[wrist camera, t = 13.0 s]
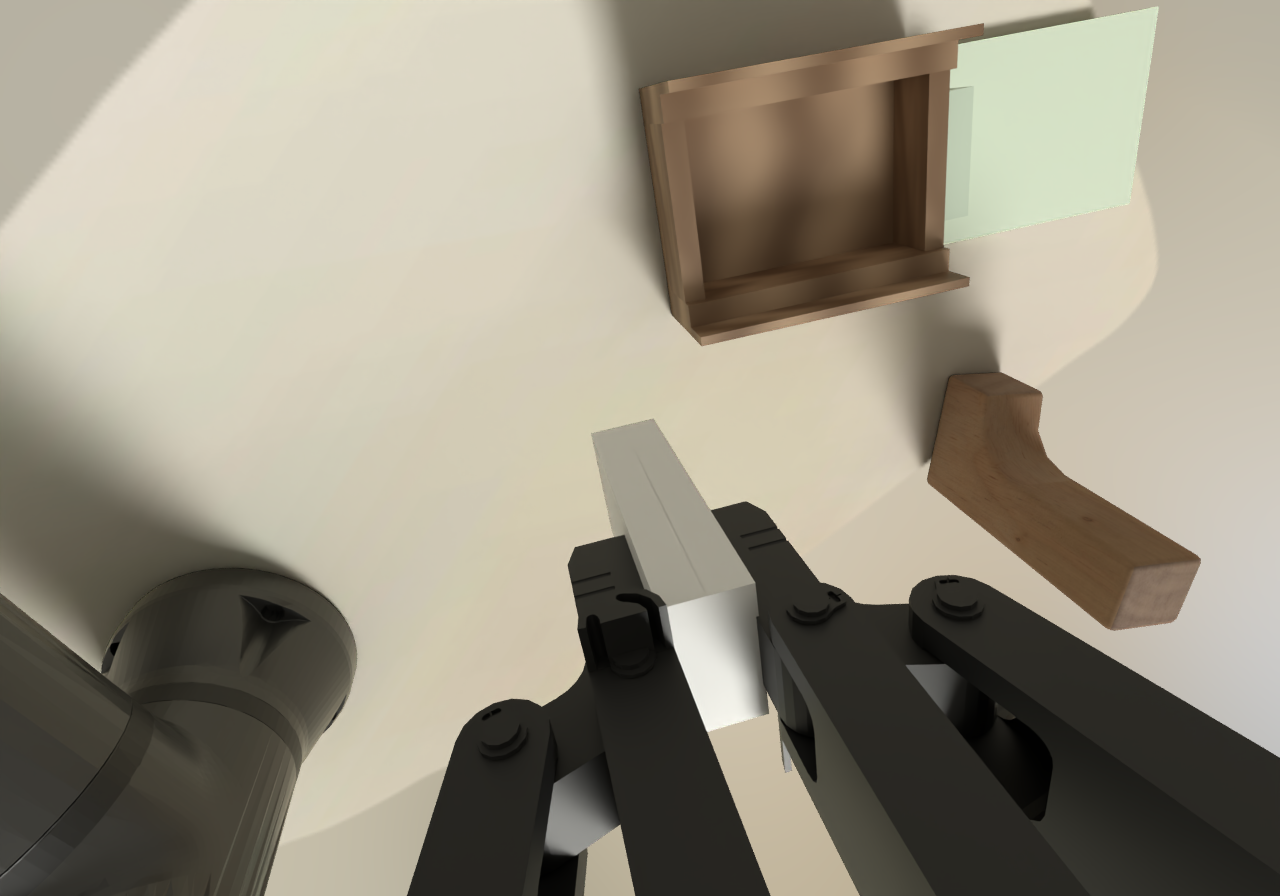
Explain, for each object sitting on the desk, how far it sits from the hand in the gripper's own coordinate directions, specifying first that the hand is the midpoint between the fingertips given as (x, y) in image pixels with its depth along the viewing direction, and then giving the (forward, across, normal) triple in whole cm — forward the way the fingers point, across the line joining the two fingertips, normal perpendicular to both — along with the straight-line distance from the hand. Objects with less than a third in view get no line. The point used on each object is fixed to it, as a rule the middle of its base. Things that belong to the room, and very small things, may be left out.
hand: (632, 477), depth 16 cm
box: (+27, +16, +2) cm, 32 cm away
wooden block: (+27, +29, -18) cm, 43 cm away
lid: (+28, +32, +2) cm, 42 cm away
